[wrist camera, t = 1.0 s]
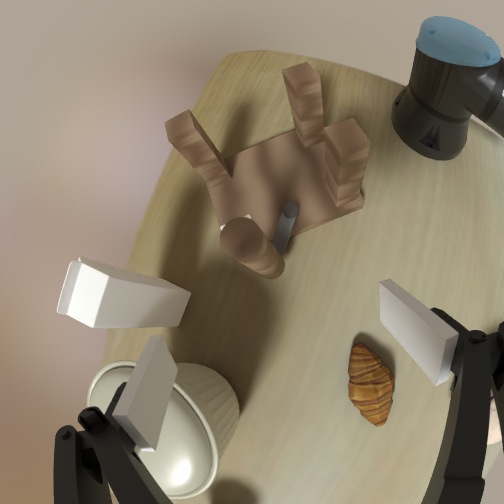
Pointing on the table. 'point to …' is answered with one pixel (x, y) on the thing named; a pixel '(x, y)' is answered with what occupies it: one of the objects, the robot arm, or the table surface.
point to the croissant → (370, 385)
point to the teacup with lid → (493, 424)
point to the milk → (119, 297)
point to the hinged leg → (259, 242)
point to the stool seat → (282, 164)
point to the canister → (181, 425)
